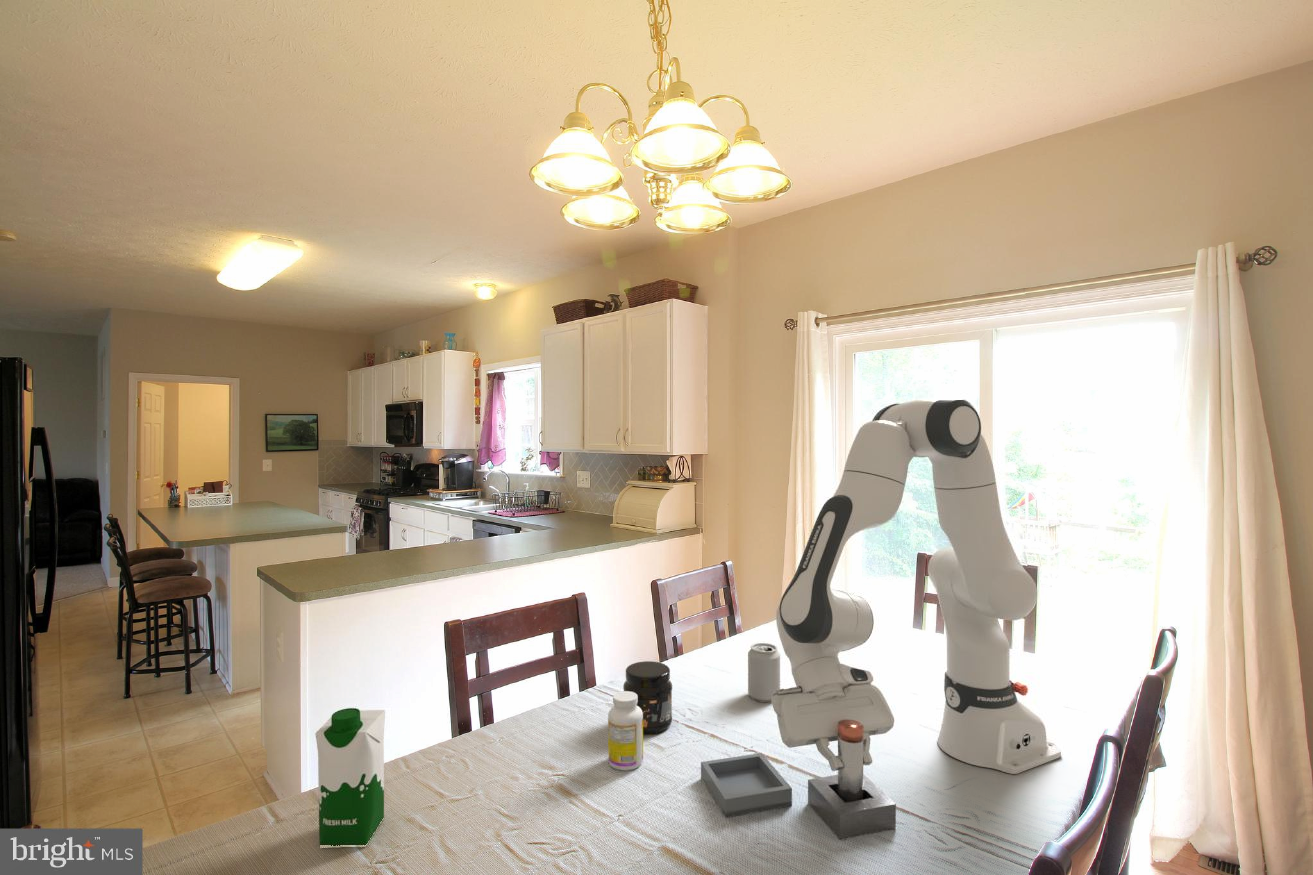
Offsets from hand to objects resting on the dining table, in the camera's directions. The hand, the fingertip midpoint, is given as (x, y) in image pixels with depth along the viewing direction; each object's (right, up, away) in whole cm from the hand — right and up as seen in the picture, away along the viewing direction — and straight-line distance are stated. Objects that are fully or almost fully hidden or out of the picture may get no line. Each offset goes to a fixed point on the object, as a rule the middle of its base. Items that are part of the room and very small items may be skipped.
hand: (852, 766), depth 103 cm
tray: (-17, -8, +8) cm, 20 cm away
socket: (0, -8, +1) cm, 8 cm away
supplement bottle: (-38, -8, +17) cm, 43 cm away
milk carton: (-80, -9, -3) cm, 80 cm away
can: (-7, -8, +47) cm, 48 cm away
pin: (0, -8, +1) cm, 8 cm away
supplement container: (-34, -8, +33) cm, 48 cm away
